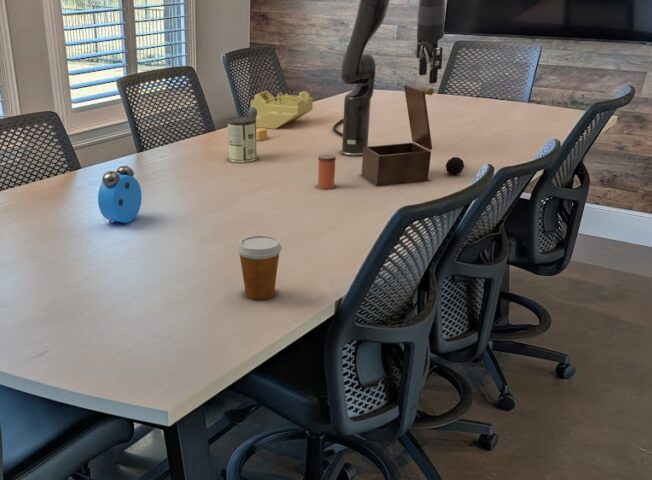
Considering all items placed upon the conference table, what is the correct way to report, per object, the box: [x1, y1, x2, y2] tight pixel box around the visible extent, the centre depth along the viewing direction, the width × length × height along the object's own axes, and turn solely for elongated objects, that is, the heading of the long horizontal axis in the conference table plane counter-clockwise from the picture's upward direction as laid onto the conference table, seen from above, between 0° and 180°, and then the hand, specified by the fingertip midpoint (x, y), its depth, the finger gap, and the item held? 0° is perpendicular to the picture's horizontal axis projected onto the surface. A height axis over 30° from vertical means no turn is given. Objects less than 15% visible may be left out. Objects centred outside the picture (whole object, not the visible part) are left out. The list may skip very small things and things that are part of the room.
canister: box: [317, 153, 337, 190], centre depth 227 cm, size 5×5×10 cm
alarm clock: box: [97, 164, 142, 225], centre depth 203 cm, size 13×6×15 cm, turn 151°
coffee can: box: [226, 115, 258, 164], centre depth 260 cm, size 10×10×14 cm
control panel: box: [250, 90, 314, 130], centre depth 312 cm, size 24×16×20 cm
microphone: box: [445, 156, 465, 176], centre depth 240 cm, size 6×6×20 cm
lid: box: [403, 84, 435, 151], centre depth 226 cm, size 18×13×6 cm
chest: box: [361, 142, 432, 187], centre depth 232 cm, size 17×13×9 cm
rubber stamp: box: [248, 106, 268, 142], centre depth 289 cm, size 10×6×12 cm, turn 53°
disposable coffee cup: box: [236, 235, 283, 301], centre depth 156 cm, size 10×10×12 cm
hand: (427, 78), depth 216 cm, fingers open, 8 cm apart
